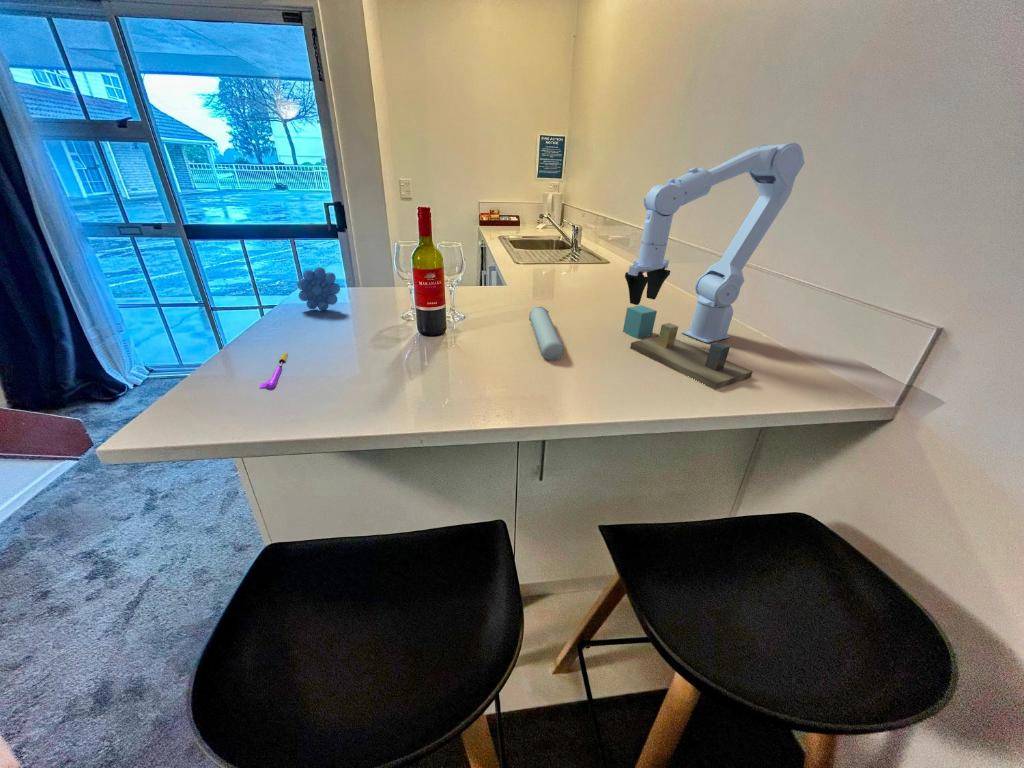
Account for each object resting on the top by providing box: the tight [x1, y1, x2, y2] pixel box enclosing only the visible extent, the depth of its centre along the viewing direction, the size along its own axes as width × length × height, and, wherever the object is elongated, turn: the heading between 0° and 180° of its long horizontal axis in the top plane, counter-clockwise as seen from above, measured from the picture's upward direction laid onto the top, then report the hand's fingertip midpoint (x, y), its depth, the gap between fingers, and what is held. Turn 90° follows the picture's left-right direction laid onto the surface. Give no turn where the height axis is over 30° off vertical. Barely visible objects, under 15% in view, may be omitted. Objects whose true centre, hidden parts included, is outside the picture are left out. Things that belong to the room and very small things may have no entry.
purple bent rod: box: [258, 352, 289, 390], centre depth 79 cm, size 3×1×16 cm
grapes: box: [296, 266, 341, 312], centre depth 109 cm, size 12×7×12 cm, turn 90°
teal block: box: [622, 304, 658, 339], centre depth 103 cm, size 5×5×7 cm
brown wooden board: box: [629, 335, 754, 391], centre depth 90 cm, size 12×23×2 cm, turn 30°
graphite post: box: [705, 341, 731, 371], centre depth 83 cm, size 3×3×5 cm
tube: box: [528, 305, 564, 361], centre depth 97 cm, size 5×5×25 cm
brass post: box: [657, 322, 679, 348], centre depth 93 cm, size 3×3×5 cm
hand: (642, 301), depth 98 cm, fingers open, 7 cm apart
